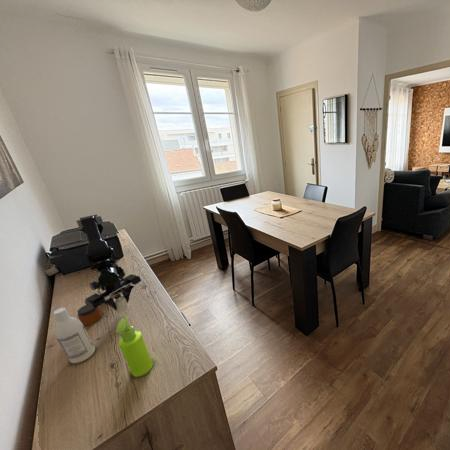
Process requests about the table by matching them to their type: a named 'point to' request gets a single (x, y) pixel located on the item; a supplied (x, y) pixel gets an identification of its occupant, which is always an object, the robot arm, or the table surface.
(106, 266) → the robot arm
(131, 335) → the soap dispenser
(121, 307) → the white bottle
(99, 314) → the amber bottle
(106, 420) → the table surface
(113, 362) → the table surface
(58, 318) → the bath foam
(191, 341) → the table surface
